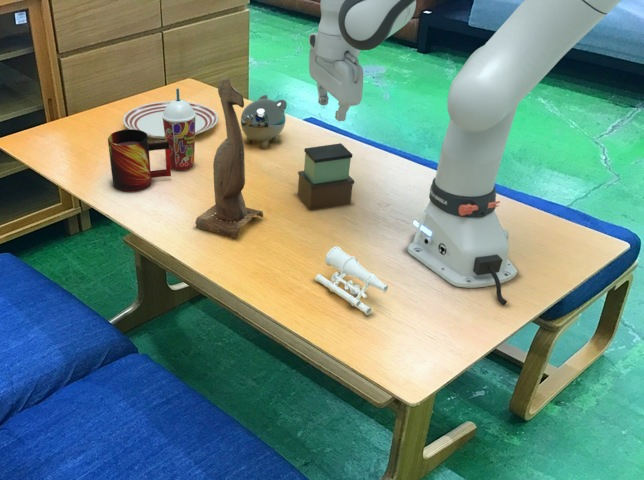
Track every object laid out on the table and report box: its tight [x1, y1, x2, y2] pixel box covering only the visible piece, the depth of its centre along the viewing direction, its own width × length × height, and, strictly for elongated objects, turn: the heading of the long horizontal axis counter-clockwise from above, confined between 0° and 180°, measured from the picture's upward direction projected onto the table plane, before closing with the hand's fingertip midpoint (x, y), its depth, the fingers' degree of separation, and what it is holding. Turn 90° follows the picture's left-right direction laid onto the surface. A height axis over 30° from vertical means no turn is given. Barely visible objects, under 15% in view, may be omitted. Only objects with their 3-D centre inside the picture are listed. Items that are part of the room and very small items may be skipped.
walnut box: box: [297, 170, 355, 211], centre depth 158 cm, size 8×10×6 cm
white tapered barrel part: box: [314, 245, 389, 316], centre depth 128 cm, size 8×14×5 cm
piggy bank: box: [240, 94, 288, 149], centre depth 183 cm, size 11×15×12 cm
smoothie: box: [162, 88, 196, 172], centre depth 170 cm, size 8×8×20 cm
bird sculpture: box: [195, 77, 264, 240], centre depth 142 cm, size 11×12×32 cm
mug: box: [107, 128, 172, 193], centre depth 166 cm, size 10×14×12 cm
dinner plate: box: [122, 100, 219, 140], centre depth 195 cm, size 27×27×3 cm
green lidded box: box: [303, 142, 353, 184], centre depth 154 cm, size 6×9×6 cm
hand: (331, 111), depth 146 cm, fingers open, 8 cm apart
